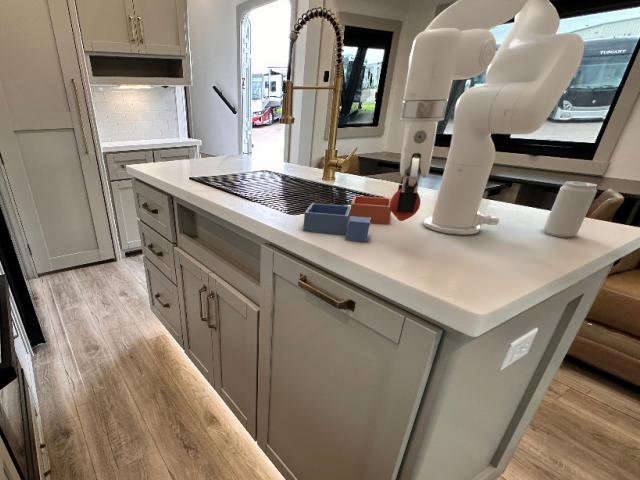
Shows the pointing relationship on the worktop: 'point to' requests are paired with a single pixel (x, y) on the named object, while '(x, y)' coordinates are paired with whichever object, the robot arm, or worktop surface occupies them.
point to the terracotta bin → (371, 209)
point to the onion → (401, 215)
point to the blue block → (358, 228)
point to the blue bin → (327, 218)
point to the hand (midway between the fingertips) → (404, 207)
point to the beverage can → (570, 208)
